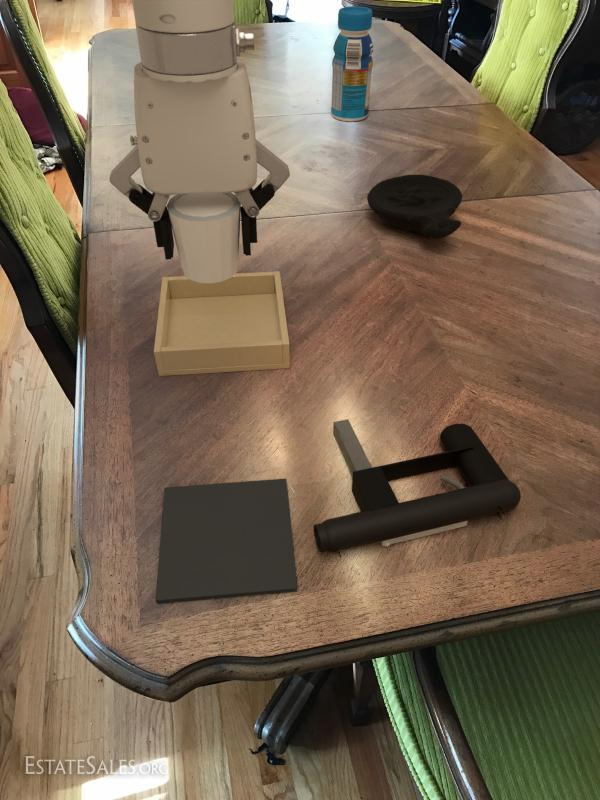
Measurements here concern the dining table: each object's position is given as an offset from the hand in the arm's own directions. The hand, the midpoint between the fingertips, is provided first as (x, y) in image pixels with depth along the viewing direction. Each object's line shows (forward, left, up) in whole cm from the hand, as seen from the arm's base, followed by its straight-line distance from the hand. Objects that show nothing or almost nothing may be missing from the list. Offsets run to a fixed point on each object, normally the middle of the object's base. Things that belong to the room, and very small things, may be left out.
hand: (208, 249), depth 60 cm
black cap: (+31, +34, -17) cm, 49 cm away
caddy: (0, +9, -17) cm, 19 cm away
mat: (0, -22, -17) cm, 28 cm away
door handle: (+17, -17, -17) cm, 30 cm away
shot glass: (0, 0, -2) cm, 2 cm away
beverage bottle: (+28, +84, -17) cm, 90 cm away
